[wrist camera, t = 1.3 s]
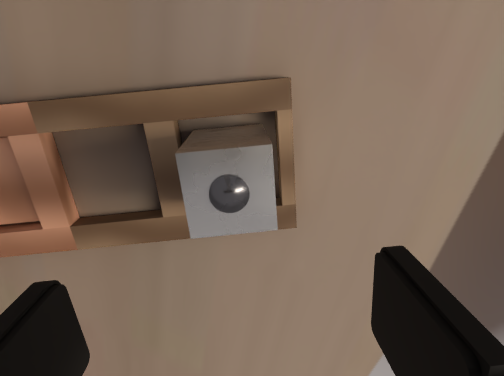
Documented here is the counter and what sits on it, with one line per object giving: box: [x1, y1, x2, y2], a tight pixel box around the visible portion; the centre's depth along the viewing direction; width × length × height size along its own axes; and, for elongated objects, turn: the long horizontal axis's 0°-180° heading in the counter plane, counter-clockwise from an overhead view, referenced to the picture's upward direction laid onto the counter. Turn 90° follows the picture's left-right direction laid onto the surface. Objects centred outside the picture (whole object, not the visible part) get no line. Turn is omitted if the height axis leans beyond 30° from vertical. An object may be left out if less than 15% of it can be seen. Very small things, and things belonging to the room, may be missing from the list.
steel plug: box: [175, 124, 278, 239], centre depth 19 cm, size 5×5×7 cm
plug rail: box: [0, 77, 297, 257], centre depth 22 cm, size 11×27×2 cm, turn 95°
